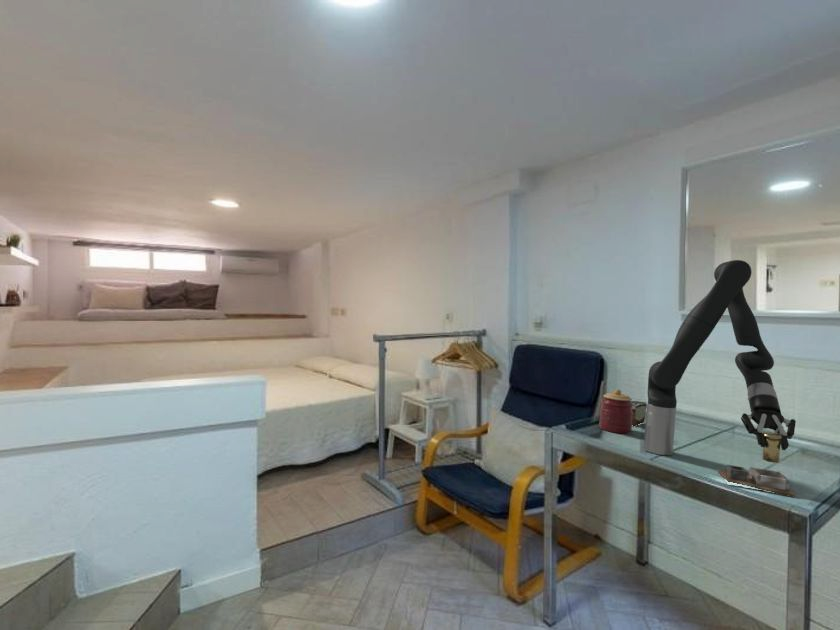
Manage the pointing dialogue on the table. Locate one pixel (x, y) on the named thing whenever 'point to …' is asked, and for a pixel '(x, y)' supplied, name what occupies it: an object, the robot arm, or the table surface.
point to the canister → (616, 413)
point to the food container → (638, 412)
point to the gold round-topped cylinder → (772, 447)
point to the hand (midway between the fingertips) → (773, 447)
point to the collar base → (758, 479)
